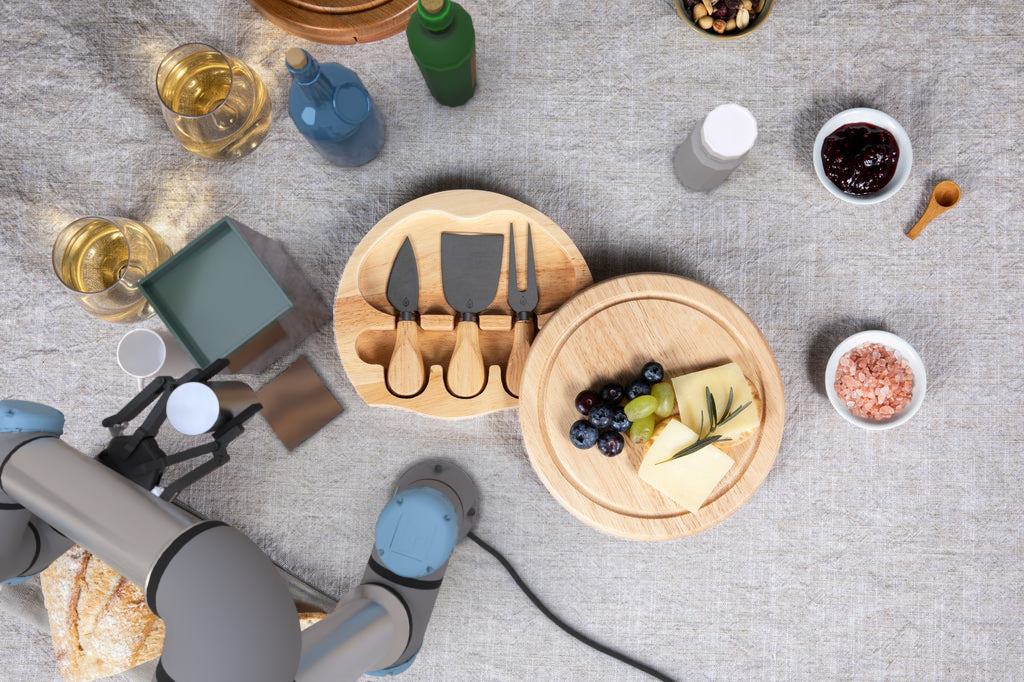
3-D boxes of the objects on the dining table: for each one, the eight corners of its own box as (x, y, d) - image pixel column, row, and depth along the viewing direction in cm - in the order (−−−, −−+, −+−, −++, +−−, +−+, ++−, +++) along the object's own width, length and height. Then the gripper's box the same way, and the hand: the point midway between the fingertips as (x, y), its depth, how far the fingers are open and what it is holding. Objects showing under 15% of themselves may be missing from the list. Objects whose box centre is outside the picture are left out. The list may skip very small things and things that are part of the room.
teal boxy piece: (333, 316, 119) (293, 304, 98) (257, 374, 119) (201, 374, 98) (277, 242, 120) (226, 214, 99) (202, 299, 120) (134, 284, 99)
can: (267, 408, 93) (229, 414, 81) (229, 436, 93) (186, 446, 81) (239, 371, 94) (198, 371, 82) (202, 399, 94) (155, 403, 82)
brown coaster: (344, 410, 118) (343, 410, 118) (290, 451, 118) (289, 451, 117) (304, 356, 119) (303, 356, 118) (250, 397, 119) (249, 397, 118)
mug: (188, 402, 119) (150, 405, 107) (143, 387, 119) (101, 389, 107) (209, 339, 119) (174, 335, 107) (164, 325, 119) (124, 319, 107)
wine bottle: (306, 160, 120) (235, 91, 90) (325, 91, 121) (260, -2, 91) (379, 178, 120) (332, 113, 90) (397, 108, 121) (356, 20, 91)
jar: (722, 196, 119) (758, 165, 101) (668, 188, 119) (694, 155, 101) (730, 143, 119) (767, 103, 101) (676, 135, 119) (703, 93, 101)
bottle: (493, 75, 121) (484, -14, 93) (462, 124, 120) (444, 50, 92) (444, 45, 121) (420, -53, 93) (412, 94, 121) (379, 10, 93)
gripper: (74, 427, 90) (210, 325, 90) (158, 544, 89) (295, 440, 90) (33, 433, 83) (182, 321, 83) (125, 560, 82) (275, 446, 82)
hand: (241, 383), depth 86 cm, fingers closed on can, 7 cm apart
